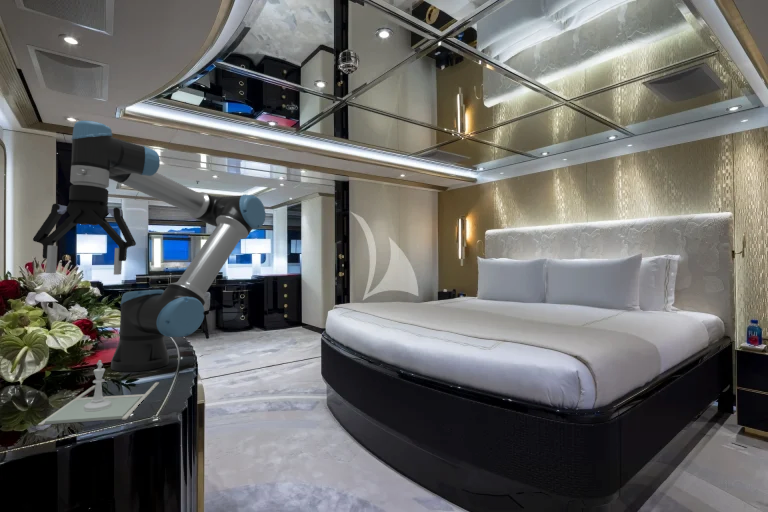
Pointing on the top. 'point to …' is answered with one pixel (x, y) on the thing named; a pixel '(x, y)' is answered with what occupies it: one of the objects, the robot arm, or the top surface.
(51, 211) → the robot arm
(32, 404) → the top surface
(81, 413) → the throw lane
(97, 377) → the chess piece
